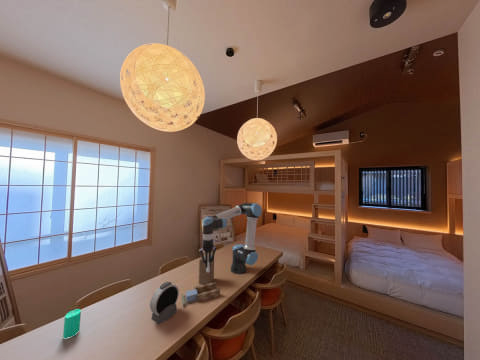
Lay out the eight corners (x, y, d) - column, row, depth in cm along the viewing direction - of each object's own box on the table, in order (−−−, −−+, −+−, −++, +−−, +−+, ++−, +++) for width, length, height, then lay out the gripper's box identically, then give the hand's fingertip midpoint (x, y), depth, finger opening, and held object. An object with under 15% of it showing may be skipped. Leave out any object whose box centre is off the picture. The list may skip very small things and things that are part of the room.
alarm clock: (156, 327, 88) (158, 293, 90) (146, 319, 94) (148, 287, 95) (181, 309, 102) (182, 279, 103) (171, 303, 107) (172, 275, 109)
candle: (70, 329, 87) (72, 306, 87) (82, 329, 87) (84, 305, 88) (59, 340, 81) (61, 314, 82) (72, 339, 81) (74, 314, 82)
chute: (215, 288, 125) (215, 281, 125) (219, 296, 115) (220, 289, 115) (181, 297, 114) (181, 290, 114) (183, 307, 104) (183, 299, 104)
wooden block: (209, 286, 127) (210, 260, 129) (198, 284, 129) (198, 259, 131) (214, 279, 137) (214, 255, 139) (203, 278, 139) (203, 254, 141)
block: (195, 294, 116) (195, 288, 116) (197, 299, 110) (197, 293, 111) (185, 297, 113) (185, 291, 113) (186, 302, 107) (187, 296, 108)
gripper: (215, 236, 125) (215, 267, 124) (198, 238, 120) (197, 271, 118) (218, 238, 119) (218, 271, 117) (200, 241, 113) (200, 276, 112)
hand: (208, 271), depth 118 cm, fingers closed
